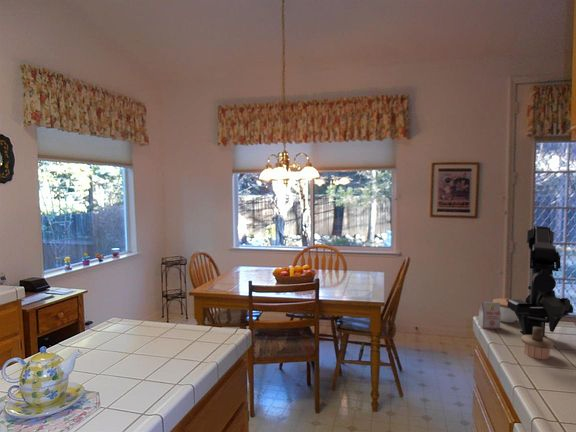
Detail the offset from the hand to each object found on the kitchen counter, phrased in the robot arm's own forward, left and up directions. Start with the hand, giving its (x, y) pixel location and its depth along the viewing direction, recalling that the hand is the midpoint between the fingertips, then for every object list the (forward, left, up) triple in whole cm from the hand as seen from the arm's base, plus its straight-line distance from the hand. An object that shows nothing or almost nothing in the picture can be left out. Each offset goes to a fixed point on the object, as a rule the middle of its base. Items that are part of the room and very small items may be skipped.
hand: (538, 331), depth 128 cm
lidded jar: (-10, -33, -8) cm, 36 cm away
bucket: (0, 0, -8) cm, 8 cm away
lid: (0, 0, -4) cm, 4 cm away
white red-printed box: (+2, -25, -8) cm, 27 cm away
